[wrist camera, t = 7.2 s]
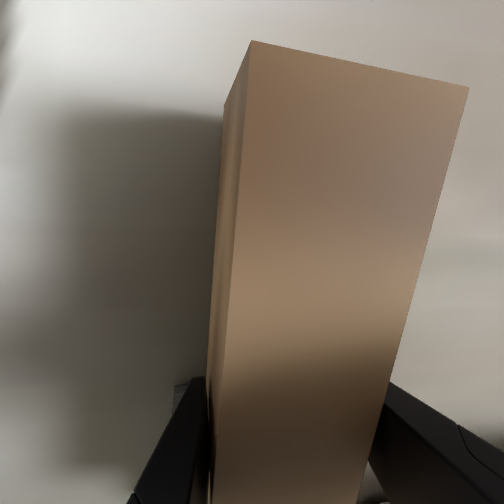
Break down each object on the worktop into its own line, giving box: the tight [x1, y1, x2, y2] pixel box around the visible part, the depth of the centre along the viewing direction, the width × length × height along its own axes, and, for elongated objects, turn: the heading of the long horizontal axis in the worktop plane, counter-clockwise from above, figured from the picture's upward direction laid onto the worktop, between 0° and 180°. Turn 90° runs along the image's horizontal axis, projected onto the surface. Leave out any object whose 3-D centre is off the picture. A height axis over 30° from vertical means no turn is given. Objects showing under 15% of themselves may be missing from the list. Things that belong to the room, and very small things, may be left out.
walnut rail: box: [206, 40, 469, 504], centre depth 8 cm, size 16×4×4 cm, turn 173°
